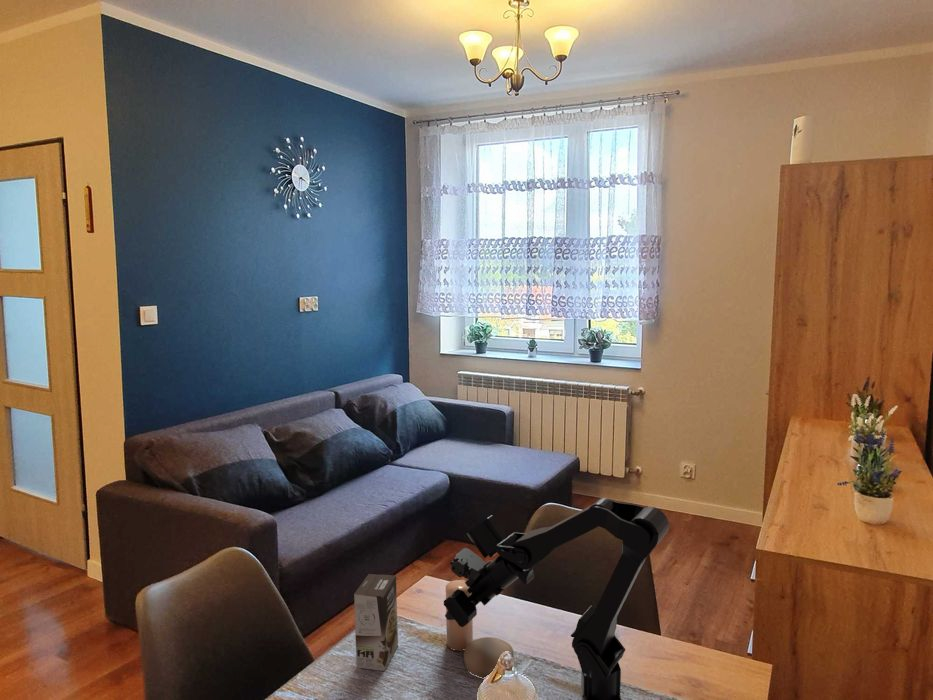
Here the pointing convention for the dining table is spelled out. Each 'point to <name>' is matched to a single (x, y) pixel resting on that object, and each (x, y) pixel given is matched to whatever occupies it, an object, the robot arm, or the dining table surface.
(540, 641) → the dining table surface
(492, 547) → the robot arm
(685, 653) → the dining table surface
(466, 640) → the candle
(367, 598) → the coffee box
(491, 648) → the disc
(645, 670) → the dining table surface
